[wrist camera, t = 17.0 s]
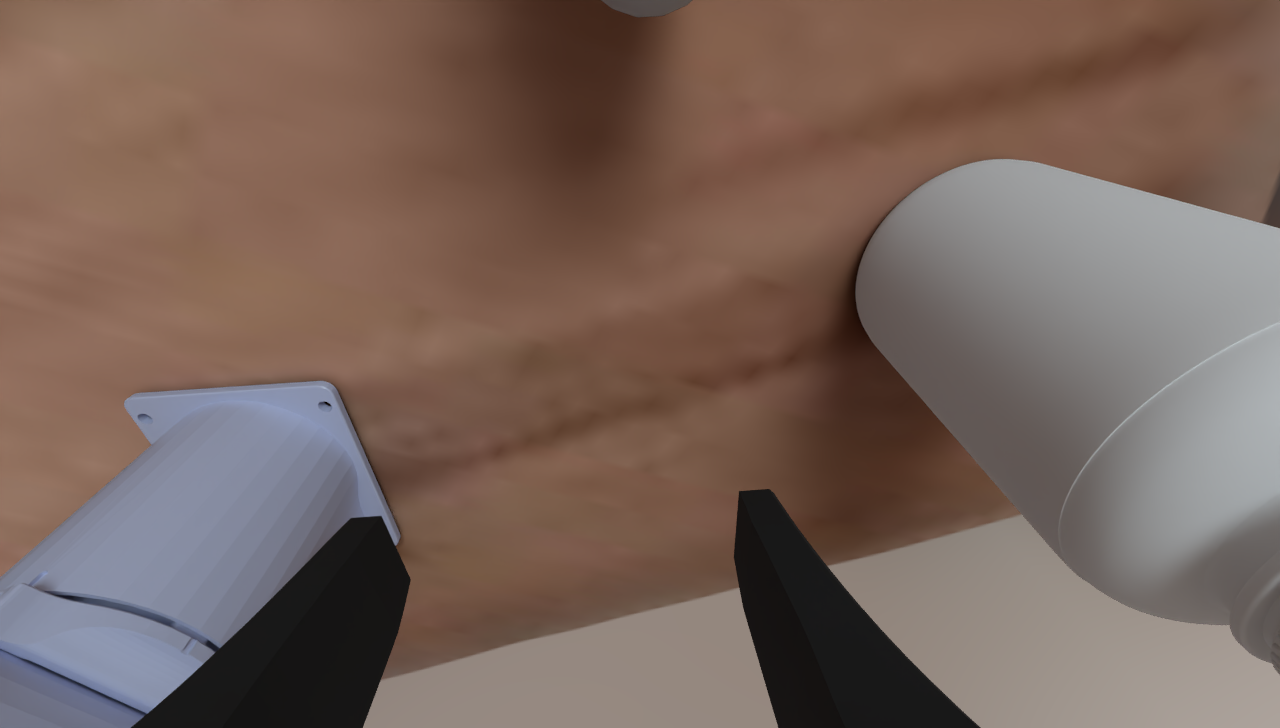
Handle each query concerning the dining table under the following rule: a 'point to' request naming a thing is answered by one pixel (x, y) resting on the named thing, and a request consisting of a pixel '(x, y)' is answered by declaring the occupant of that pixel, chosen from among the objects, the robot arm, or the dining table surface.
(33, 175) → the dining table surface
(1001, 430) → the pill bottle
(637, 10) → the donut
